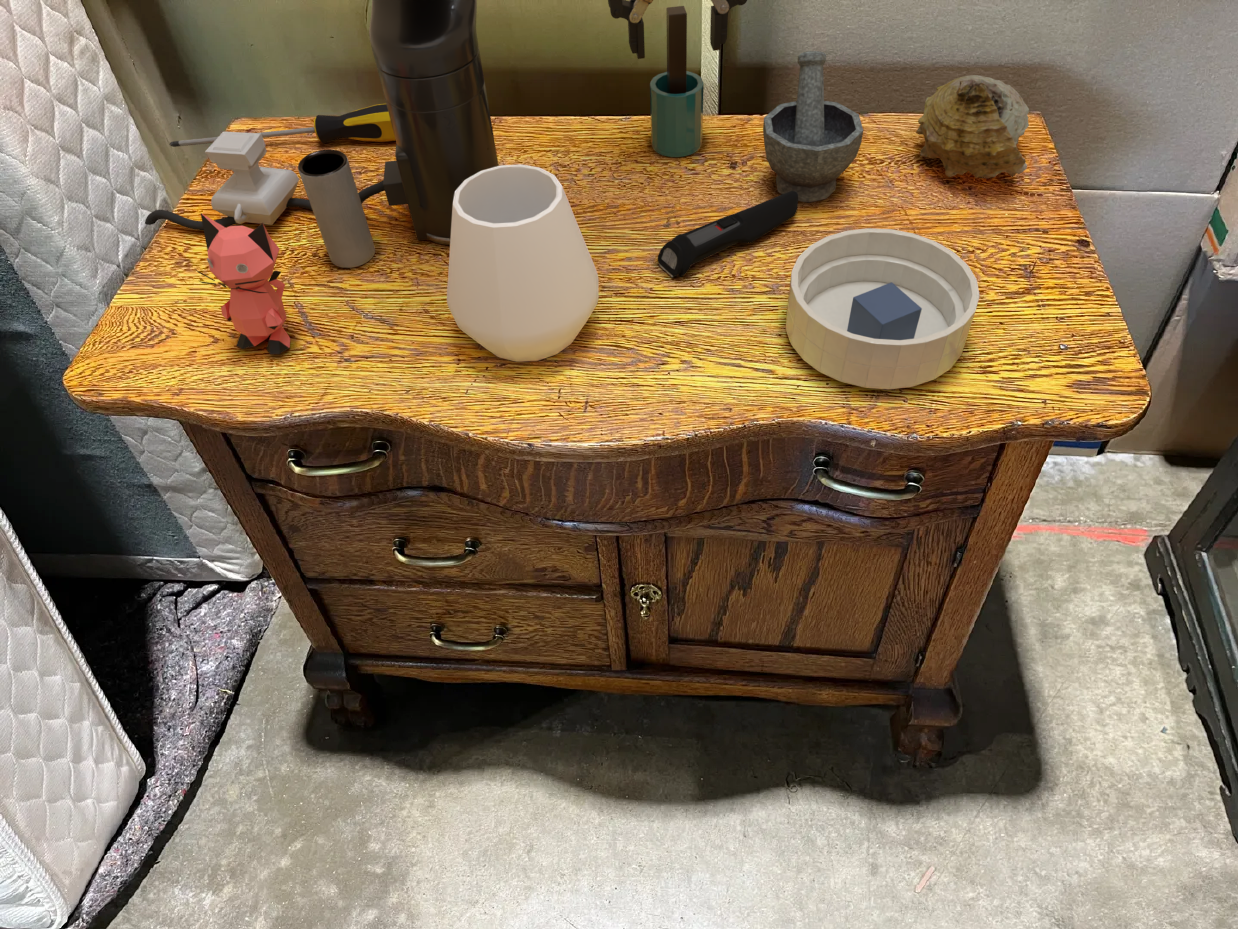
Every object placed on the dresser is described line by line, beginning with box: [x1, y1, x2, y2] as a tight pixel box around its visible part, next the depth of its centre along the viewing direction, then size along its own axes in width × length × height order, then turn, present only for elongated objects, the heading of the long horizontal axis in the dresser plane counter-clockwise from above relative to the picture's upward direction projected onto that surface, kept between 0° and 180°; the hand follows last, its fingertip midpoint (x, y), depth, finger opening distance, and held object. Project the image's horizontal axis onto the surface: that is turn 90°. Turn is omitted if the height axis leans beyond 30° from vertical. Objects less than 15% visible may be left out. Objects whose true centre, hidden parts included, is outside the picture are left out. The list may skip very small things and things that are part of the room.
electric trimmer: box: [657, 191, 799, 278], centre depth 88 cm, size 4×16×3 cm, turn 122°
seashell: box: [915, 74, 1030, 179], centre depth 94 cm, size 11×15×10 cm
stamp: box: [204, 131, 300, 226], centre depth 93 cm, size 9×7×8 cm
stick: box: [665, 5, 688, 94], centre depth 95 cm, size 2×2×14 cm
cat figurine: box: [194, 212, 291, 355], centre depth 79 cm, size 7×7×12 cm
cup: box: [446, 163, 600, 363], centre depth 77 cm, size 13×13×14 cm
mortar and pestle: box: [762, 50, 864, 203], centre depth 90 cm, size 11×9×12 cm
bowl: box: [785, 227, 980, 390], centre depth 77 cm, size 15×15×6 cm
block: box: [847, 282, 922, 340], centre depth 77 cm, size 4×4×4 cm
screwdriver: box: [169, 103, 396, 148], centre depth 104 cm, size 3×3×30 cm
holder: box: [649, 70, 705, 158], centre depth 98 cm, size 6×6×7 cm
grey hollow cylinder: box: [297, 149, 376, 269], centre depth 87 cm, size 4×4×10 cm
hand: (677, 50), depth 93 cm, fingers open, 7 cm apart
